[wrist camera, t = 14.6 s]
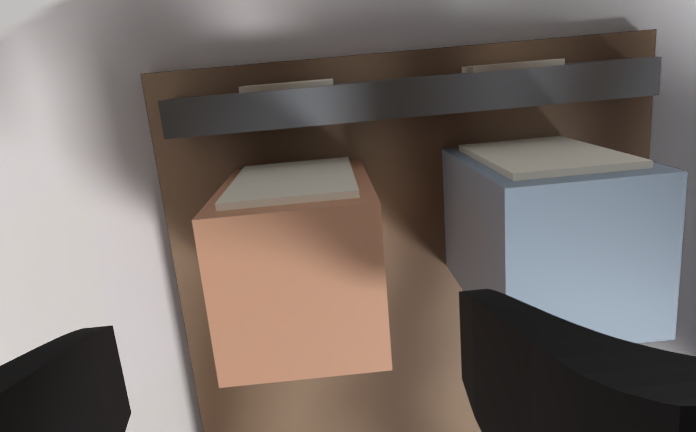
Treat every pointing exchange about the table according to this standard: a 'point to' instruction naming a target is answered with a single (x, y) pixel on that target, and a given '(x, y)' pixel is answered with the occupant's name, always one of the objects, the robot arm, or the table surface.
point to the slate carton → (569, 231)
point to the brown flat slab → (381, 191)
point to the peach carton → (294, 273)
